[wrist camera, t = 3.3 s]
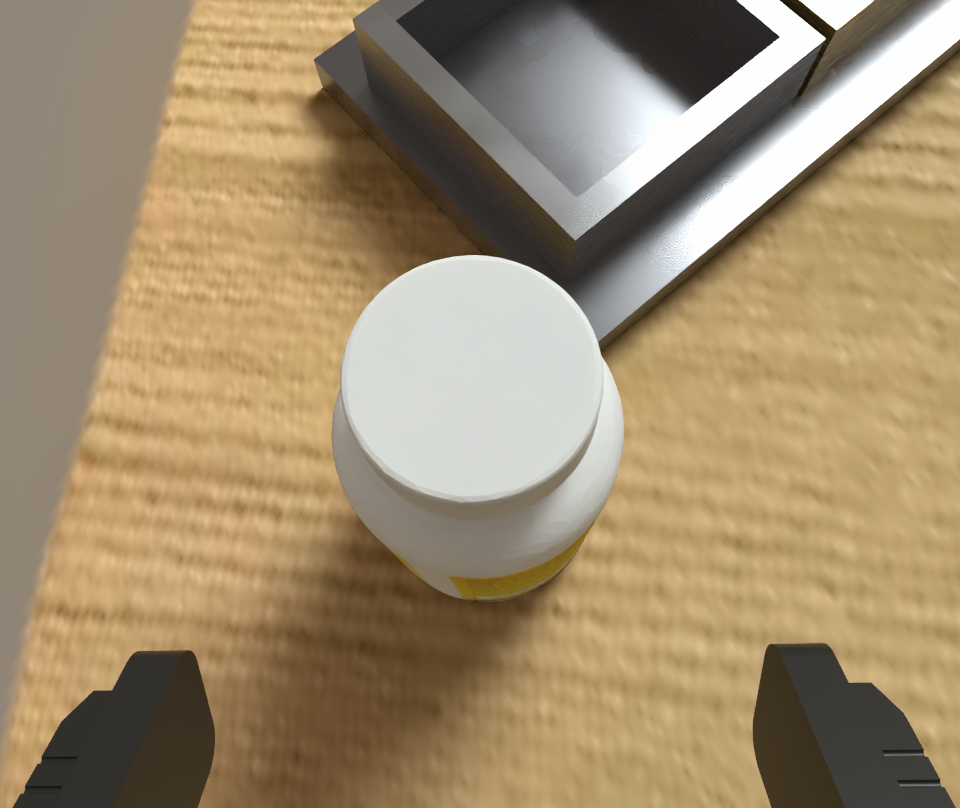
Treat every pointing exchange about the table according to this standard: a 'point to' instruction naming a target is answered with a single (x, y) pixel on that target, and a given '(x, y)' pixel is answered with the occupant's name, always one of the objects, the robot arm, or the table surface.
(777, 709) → the robot arm
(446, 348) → the supplement bottle
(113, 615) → the table surface
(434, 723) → the table surface
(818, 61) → the two compartment tray
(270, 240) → the table surface
